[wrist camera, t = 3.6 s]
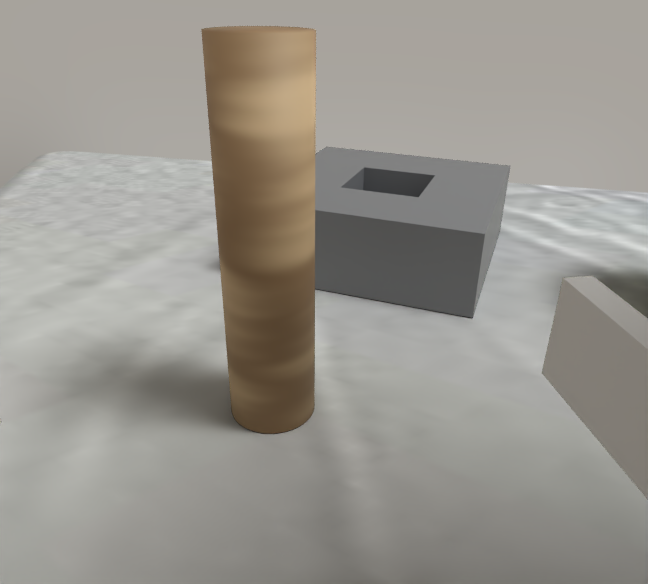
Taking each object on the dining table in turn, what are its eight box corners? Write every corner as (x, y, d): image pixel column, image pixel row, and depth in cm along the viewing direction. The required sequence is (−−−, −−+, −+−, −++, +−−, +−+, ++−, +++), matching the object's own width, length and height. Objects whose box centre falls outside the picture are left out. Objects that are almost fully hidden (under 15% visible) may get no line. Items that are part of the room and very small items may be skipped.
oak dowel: (326, 391, 27) (332, 28, 20) (294, 442, 24) (287, 35, 17) (254, 374, 28) (236, 24, 21) (215, 420, 25) (178, 31, 18)
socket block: (499, 231, 44) (510, 165, 42) (472, 317, 33) (485, 233, 30) (325, 207, 48) (326, 146, 46) (247, 276, 37) (243, 199, 35)
